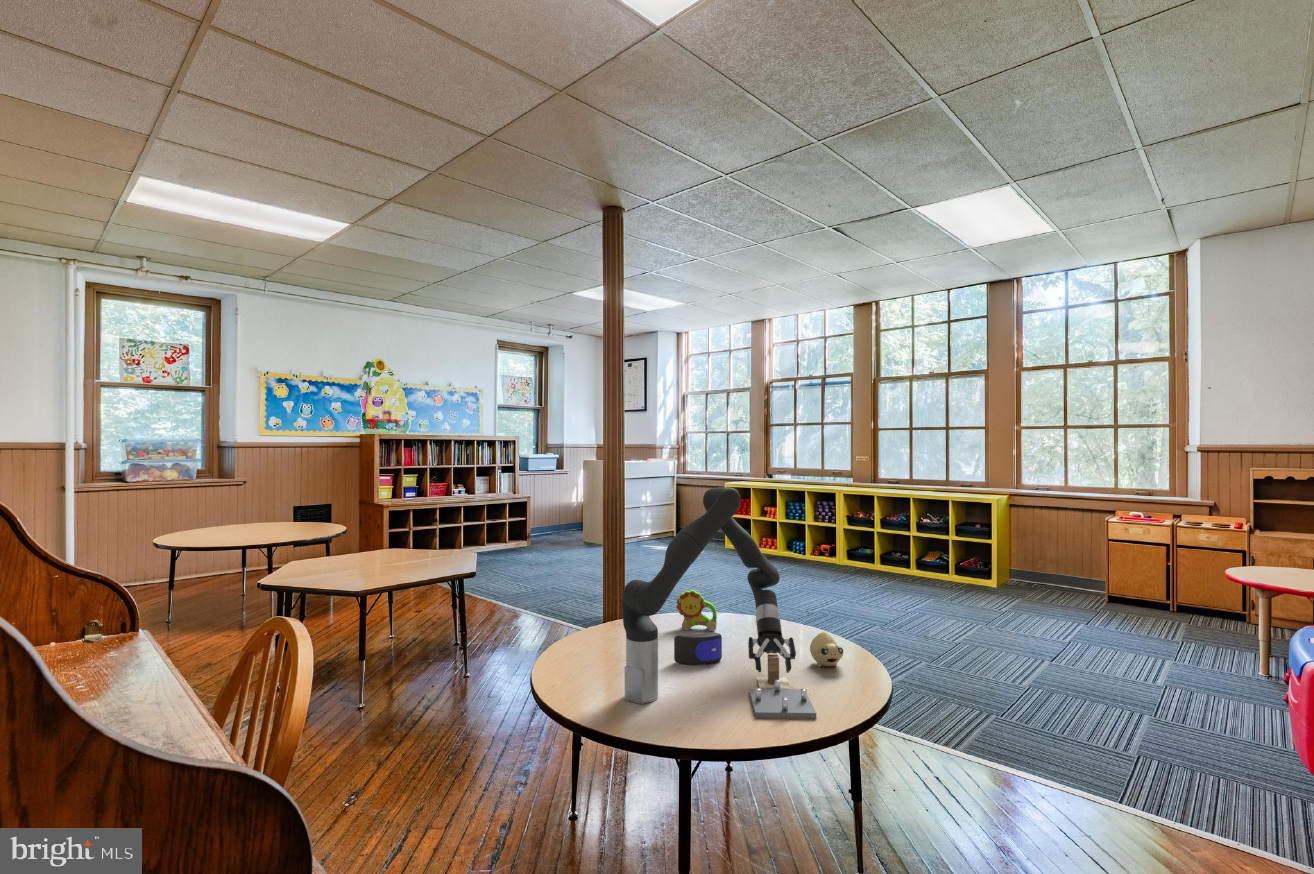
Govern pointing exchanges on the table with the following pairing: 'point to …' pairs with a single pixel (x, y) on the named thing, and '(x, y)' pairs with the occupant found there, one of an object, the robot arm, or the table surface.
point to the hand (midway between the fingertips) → (774, 671)
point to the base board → (773, 704)
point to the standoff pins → (784, 700)
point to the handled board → (766, 686)
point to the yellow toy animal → (825, 650)
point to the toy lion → (695, 610)
